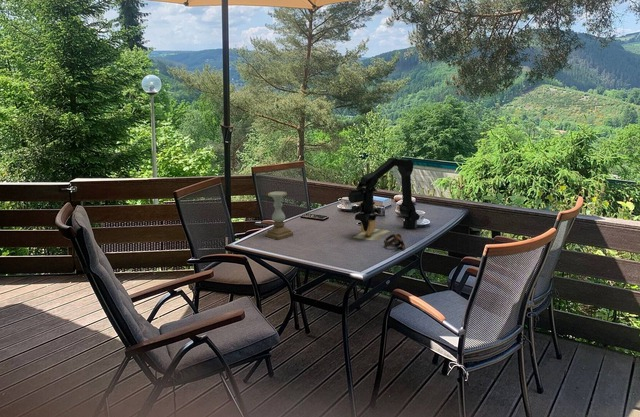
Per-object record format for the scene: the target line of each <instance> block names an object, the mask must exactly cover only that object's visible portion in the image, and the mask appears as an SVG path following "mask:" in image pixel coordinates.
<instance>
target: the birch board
mask: <svg viewBox="0 0 640 417" xmlns="http://www.w3.org/2000/svg"><path fill="white" fill-rule="evenodd" d="M389 232H390V233H391V230H387V229H380V228H375V231H373V232H372V233H370V237H365V232H361V231H360V233H358V234H356V235H354V236H353V237H352V238H353V239H359V240H360V239H361V240H367V241H374V242H376V241H377V240H379V239H380V238H382V237H384V236H385V235H387V234H388V233H389Z"/></svg>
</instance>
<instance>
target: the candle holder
mask: <svg viewBox="0 0 640 417" xmlns="http://www.w3.org/2000/svg"><path fill="white" fill-rule="evenodd" d="M267 195H268V197H271V198H272V199H273V201H274V202H273V205H272V206H273V207H274V211H273V213H272V214H271V220H272V221H273V222H272V225H273V227H272V228H270V229H268V230H267V232H266V233H265V237H266V238H270V239H273V240H277V241H279V240H284V239H287V238H290V237H293V236H294V232H292V229H290V228H287V227H286V226H285V222H284V221H285V220H286V214H285V213H284V211H283V210H282V207H283V206H284V204H283V203H282V199H283V197H285V196H287V195H288V193H287V191H282V190H278V191H277V190H276V191H275V190H274V191H270V192H268V193H267Z"/></svg>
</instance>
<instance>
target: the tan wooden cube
mask: <svg viewBox="0 0 640 417" xmlns="http://www.w3.org/2000/svg"><path fill="white" fill-rule="evenodd" d="M375 229H376V219H375V220H370V222H369V225H368V229H367V231H364V228H363V225H362V222H361V221H360V233H361V232H365V233H372V232H373V231H375Z"/></svg>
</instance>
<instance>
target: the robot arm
mask: <svg viewBox="0 0 640 417" xmlns="http://www.w3.org/2000/svg"><path fill="white" fill-rule="evenodd" d="M395 167H397V171H398V172H399V174H400V176H401V179H400V180H401V193H402V202H401V204H398V208H399V209H398V210H399V211H398V212H399V213H400V215H401V217H402V218H403V222H402V223H403V229H406V230H417V229H418V221H419V220H420V217H421V216H420V214H419V213H418V212H417V210H416V207H415V206H416V205H415V204H414V202H413V199H412V198H413V195H412V182H411V181H412V178H411V175H412V173H413V171H414V162H413V160H411V159H408V158H396V157H389V158H388V159H387V160H386V161H384V162H383V163H382V164H381V165H380V166H378V167H377V168H376V169H374V170H373V171H372V172H369V173H366V174H364V175H363V176H362V177H361V178H360V180H359V182H358V184H357V186H356V188H355V189H350V192H349V193H348V196H347V199H348V202H349V203H351V204H355V203H360V204H358V205H352V206H351V208H350V211H351V212H352V213H353V214H355V215H354V220H355V221H360V223H361V222H362V225H363V228H364V231H367V229H368V225H369V222H370V220H375V221H376V219H377V217H378V216H379V214H381V208H380V207H377V206H376V207H374V205H375V204H376V201H374V193H375V192H377V191H378V189H376V188H375V186H376V185H377V184H378V183H379V181H380V180H379V179H381V178H382V177H383V176H385V174H387V173H388V172H389V171H391V170H392V169H393V168H395Z"/></svg>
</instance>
